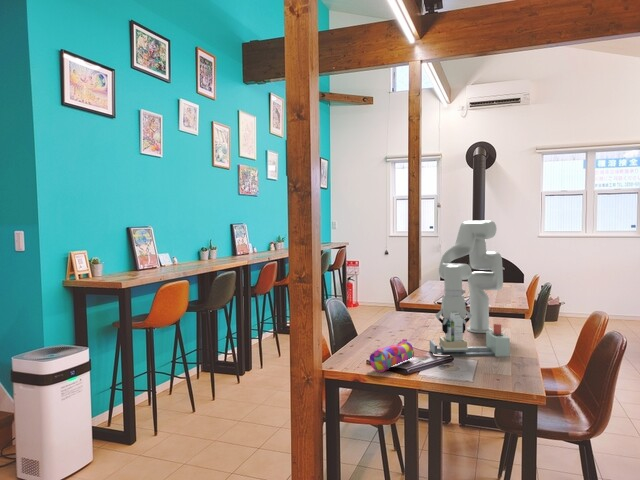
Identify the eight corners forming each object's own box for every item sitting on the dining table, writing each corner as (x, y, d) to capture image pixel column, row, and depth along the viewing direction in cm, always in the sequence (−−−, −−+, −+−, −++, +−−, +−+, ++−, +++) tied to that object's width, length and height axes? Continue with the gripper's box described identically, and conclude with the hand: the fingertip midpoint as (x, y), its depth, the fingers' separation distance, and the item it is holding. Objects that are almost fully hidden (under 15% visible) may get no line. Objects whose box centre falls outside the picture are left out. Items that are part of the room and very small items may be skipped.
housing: (486, 348, 208) (486, 331, 208) (499, 348, 208) (499, 331, 208) (495, 356, 196) (495, 338, 196) (509, 356, 196) (509, 337, 196)
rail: (429, 350, 208) (429, 339, 207) (486, 349, 207) (486, 338, 207) (434, 356, 198) (434, 345, 197) (494, 355, 197) (494, 344, 197)
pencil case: (396, 357, 198) (396, 337, 198) (416, 361, 192) (415, 340, 192) (367, 370, 182) (367, 348, 182) (387, 375, 176) (387, 352, 175)
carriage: (438, 347, 207) (438, 336, 207) (461, 347, 207) (461, 336, 207) (444, 353, 198) (443, 342, 197) (468, 353, 197) (467, 341, 197)
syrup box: (444, 342, 204) (444, 310, 203) (455, 340, 206) (455, 309, 205) (452, 345, 199) (452, 312, 198) (463, 343, 201) (463, 311, 200)
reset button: (492, 339, 203) (492, 323, 203) (499, 339, 203) (499, 323, 203) (495, 341, 200) (495, 325, 200) (502, 341, 200) (502, 325, 200)
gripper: (470, 291, 205) (471, 330, 206) (431, 292, 205) (432, 331, 206) (475, 294, 197) (476, 334, 198) (435, 295, 198) (436, 335, 199)
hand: (453, 332), depth 202 cm, fingers closed on syrup box, 7 cm apart
